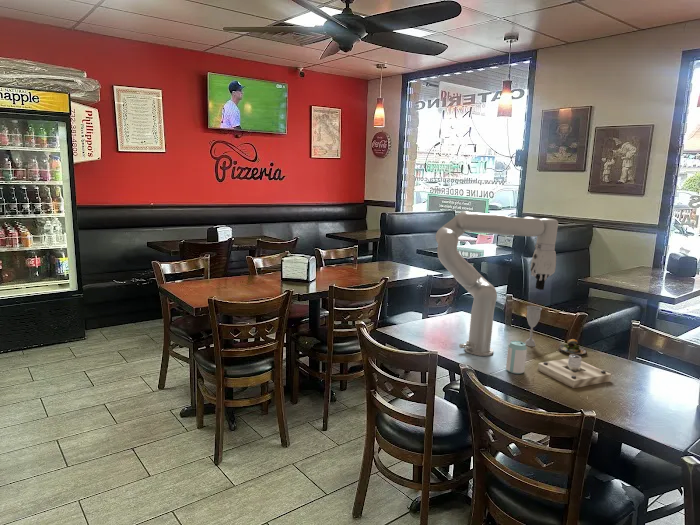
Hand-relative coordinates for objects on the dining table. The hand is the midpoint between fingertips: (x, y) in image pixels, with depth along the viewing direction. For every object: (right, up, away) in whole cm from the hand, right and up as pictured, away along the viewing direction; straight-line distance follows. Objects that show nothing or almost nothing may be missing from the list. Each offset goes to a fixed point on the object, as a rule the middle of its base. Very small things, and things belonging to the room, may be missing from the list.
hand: (539, 288), depth 211 cm
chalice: (+2, -27, +18) cm, 33 cm away
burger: (+19, -30, +10) cm, 37 cm away
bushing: (+7, -34, -17) cm, 38 cm away
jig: (+7, -34, -17) cm, 38 cm away
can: (-16, -33, -15) cm, 39 cm away
